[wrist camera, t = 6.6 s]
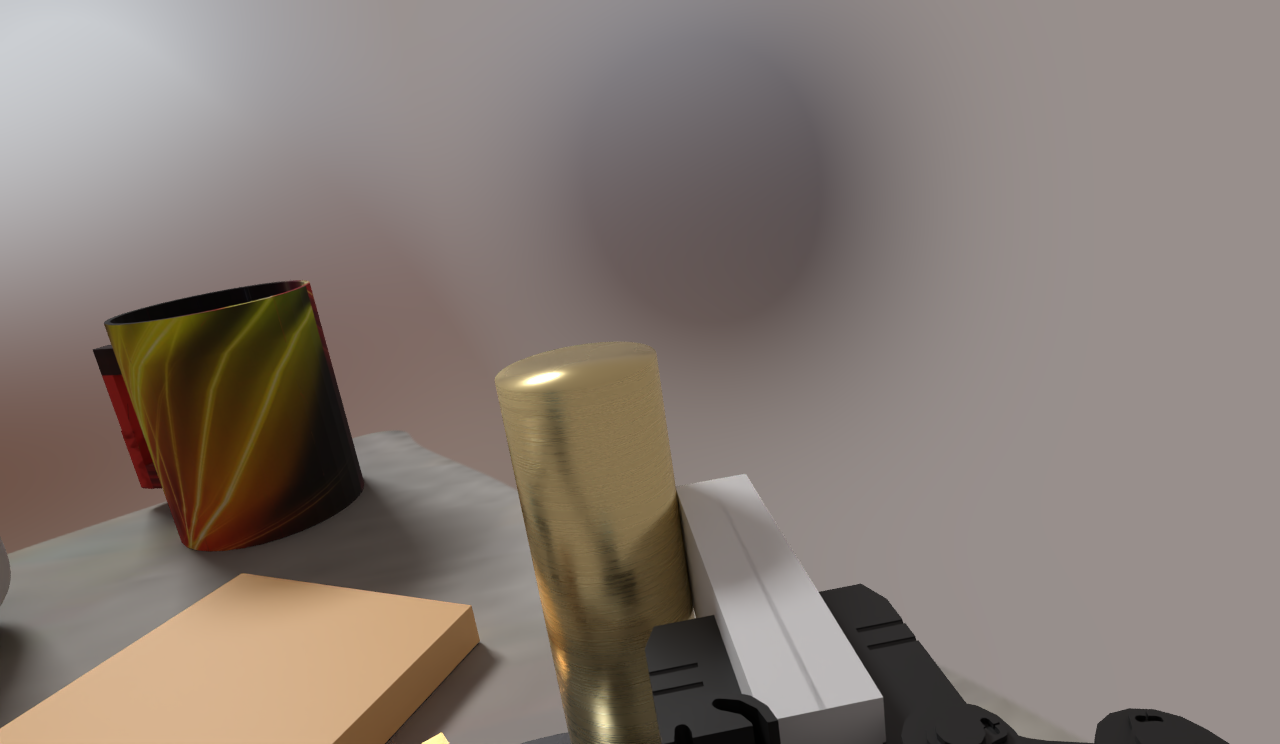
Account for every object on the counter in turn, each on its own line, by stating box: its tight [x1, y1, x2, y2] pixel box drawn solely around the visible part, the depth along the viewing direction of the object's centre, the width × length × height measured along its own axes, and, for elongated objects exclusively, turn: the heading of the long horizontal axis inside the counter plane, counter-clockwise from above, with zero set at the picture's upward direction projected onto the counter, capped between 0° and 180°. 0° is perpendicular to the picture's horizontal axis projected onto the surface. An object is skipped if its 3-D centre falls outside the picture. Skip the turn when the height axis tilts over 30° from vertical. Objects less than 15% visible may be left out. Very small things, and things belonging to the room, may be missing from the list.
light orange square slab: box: [0, 573, 480, 744], centre depth 25 cm, size 12×12×2 cm
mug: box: [93, 280, 364, 551], centre depth 41 cm, size 10×14×12 cm
